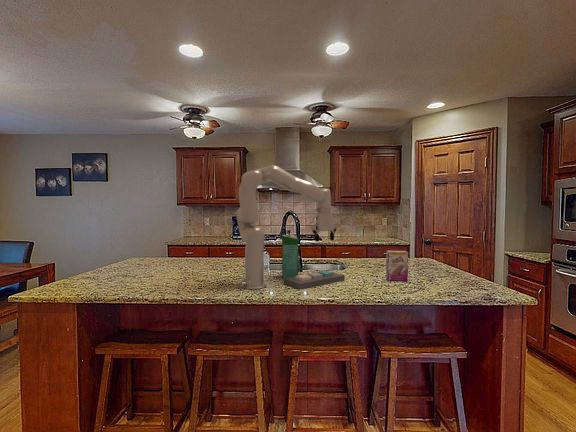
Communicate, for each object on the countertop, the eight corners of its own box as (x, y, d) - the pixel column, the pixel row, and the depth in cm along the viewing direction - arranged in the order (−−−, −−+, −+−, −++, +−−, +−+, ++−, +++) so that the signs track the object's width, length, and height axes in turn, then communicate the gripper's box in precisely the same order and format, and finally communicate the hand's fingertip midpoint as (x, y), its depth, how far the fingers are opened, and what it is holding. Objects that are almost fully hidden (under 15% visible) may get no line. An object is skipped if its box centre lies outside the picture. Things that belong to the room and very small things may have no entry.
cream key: (302, 282, 166) (302, 277, 166) (295, 280, 171) (295, 275, 170) (311, 281, 169) (311, 276, 169) (304, 278, 174) (304, 274, 174)
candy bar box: (387, 281, 177) (387, 251, 177) (385, 279, 182) (386, 250, 182) (408, 281, 176) (408, 252, 176) (405, 279, 181) (406, 250, 180)
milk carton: (298, 279, 181) (298, 235, 180) (282, 279, 182) (282, 235, 181) (297, 275, 190) (297, 234, 189) (282, 275, 191) (282, 233, 190)
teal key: (325, 278, 175) (325, 273, 175) (317, 276, 180) (317, 271, 180) (333, 276, 179) (333, 272, 179) (325, 274, 184) (325, 270, 184)
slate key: (314, 280, 170) (314, 275, 170) (307, 278, 175) (307, 273, 175) (322, 278, 174) (322, 274, 174) (315, 276, 179) (315, 272, 179)
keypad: (299, 289, 160) (299, 283, 160) (283, 284, 171) (283, 278, 171) (344, 280, 179) (344, 275, 178) (327, 275, 190) (327, 270, 190)
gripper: (313, 211, 175) (314, 242, 176) (340, 210, 182) (341, 240, 183) (307, 211, 182) (308, 241, 182) (333, 210, 189) (333, 239, 189)
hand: (324, 240), depth 183 cm, fingers open, 9 cm apart
